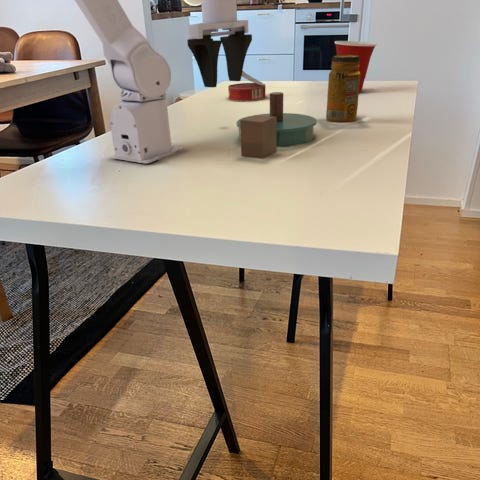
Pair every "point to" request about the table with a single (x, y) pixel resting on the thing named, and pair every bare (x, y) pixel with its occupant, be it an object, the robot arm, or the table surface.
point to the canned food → (247, 90)
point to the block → (258, 136)
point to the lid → (286, 116)
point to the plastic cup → (360, 50)
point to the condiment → (343, 89)
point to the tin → (291, 137)
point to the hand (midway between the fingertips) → (223, 83)
